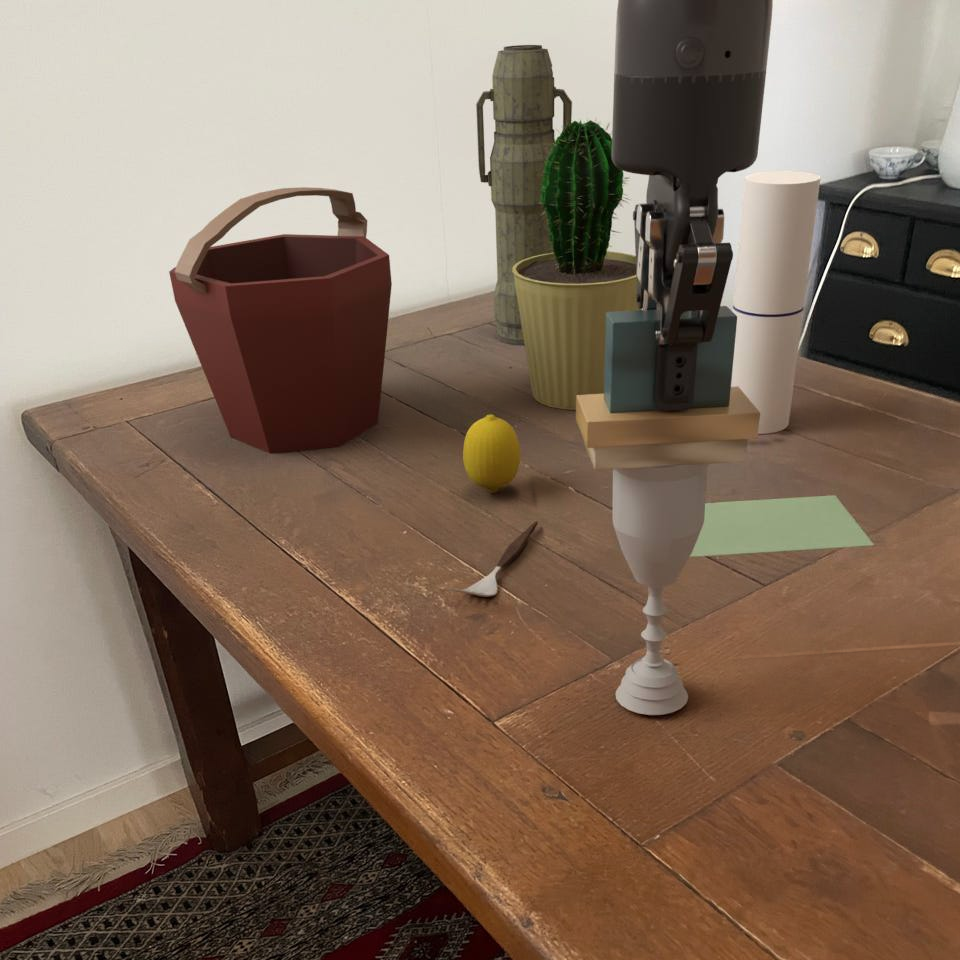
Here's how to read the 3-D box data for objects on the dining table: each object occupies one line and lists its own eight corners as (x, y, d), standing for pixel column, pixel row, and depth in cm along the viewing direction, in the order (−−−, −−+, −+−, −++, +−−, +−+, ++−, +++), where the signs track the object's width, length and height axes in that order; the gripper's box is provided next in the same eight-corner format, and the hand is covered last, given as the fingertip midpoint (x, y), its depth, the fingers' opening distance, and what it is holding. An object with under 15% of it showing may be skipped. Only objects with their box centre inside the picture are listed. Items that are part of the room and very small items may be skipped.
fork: (550, 528, 94) (550, 509, 93) (480, 615, 82) (478, 594, 81) (524, 524, 95) (524, 505, 94) (450, 609, 83) (449, 588, 82)
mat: (834, 498, 97) (835, 494, 96) (874, 549, 88) (874, 545, 88) (666, 509, 96) (666, 505, 96) (690, 560, 88) (690, 556, 88)
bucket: (358, 376, 131) (335, 164, 118) (449, 427, 116) (434, 189, 102) (174, 422, 121) (124, 195, 107) (246, 484, 105) (199, 227, 91)
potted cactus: (509, 416, 118) (501, 127, 101) (520, 372, 130) (515, 108, 114) (644, 417, 116) (659, 122, 99) (643, 371, 128) (655, 103, 112)
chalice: (701, 726, 68) (718, 468, 60) (599, 721, 69) (601, 467, 61) (700, 671, 74) (715, 430, 66) (606, 667, 76) (609, 429, 67)
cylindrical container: (711, 426, 113) (732, 181, 99) (737, 405, 117) (761, 169, 104) (774, 438, 109) (805, 186, 95) (798, 416, 114) (831, 173, 100)
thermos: (574, 342, 139) (577, 46, 120) (488, 347, 139) (477, 51, 120) (565, 323, 147) (566, 41, 128) (483, 328, 146) (472, 46, 127)
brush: (733, 434, 64) (747, 299, 60) (755, 463, 60) (770, 320, 56) (575, 443, 64) (577, 307, 60) (586, 472, 60) (588, 329, 56)
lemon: (480, 477, 104) (476, 401, 100) (530, 485, 102) (528, 408, 98) (455, 499, 100) (450, 421, 96) (506, 508, 98) (504, 429, 94)
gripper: (809, 69, 45) (763, 439, 55) (727, 55, 57) (701, 361, 66) (642, 75, 45) (624, 446, 54) (594, 60, 57) (586, 367, 66)
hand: (666, 398), depth 60 cm, fingers closed on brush, 2 cm apart
